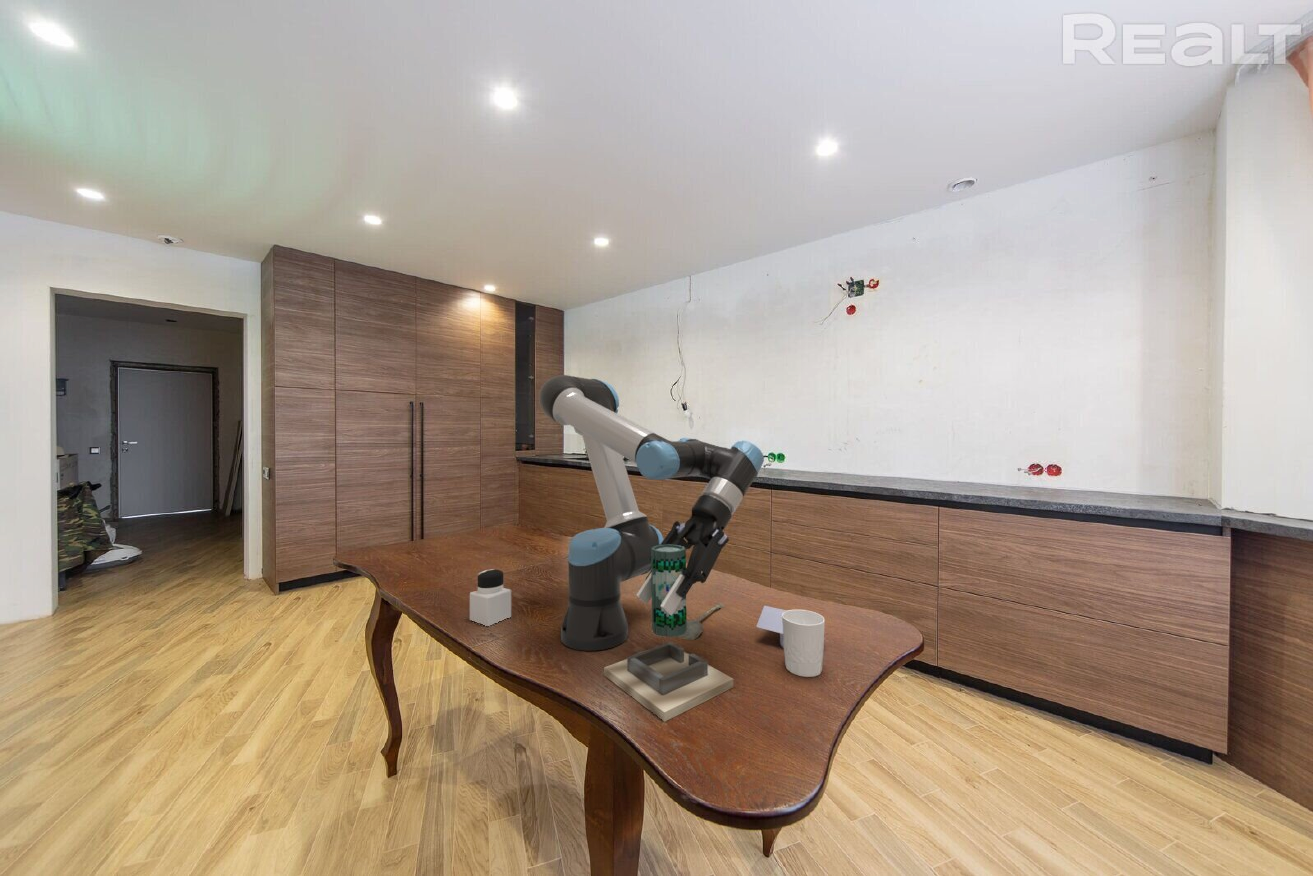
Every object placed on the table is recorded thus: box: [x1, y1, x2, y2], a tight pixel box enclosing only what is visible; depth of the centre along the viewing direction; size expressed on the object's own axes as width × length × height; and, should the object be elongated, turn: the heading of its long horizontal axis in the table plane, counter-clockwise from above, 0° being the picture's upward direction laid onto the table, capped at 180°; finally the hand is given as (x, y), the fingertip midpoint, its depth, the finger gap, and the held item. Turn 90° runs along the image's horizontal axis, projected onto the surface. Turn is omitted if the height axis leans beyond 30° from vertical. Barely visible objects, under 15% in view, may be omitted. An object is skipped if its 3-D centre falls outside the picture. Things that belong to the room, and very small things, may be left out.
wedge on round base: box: [756, 605, 825, 651], centre depth 98 cm, size 9×7×13 cm
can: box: [651, 544, 687, 638], centre depth 82 cm, size 6×6×15 cm
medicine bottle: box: [469, 568, 512, 627], centre depth 112 cm, size 7×7×12 cm
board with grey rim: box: [603, 641, 734, 723], centre depth 82 cm, size 18×16×4 cm
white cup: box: [782, 608, 826, 678], centre depth 87 cm, size 8×8×10 cm
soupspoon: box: [677, 602, 724, 641], centre depth 110 cm, size 22×3×7 cm
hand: (653, 605), depth 80 cm, fingers closed on can, 6 cm apart
